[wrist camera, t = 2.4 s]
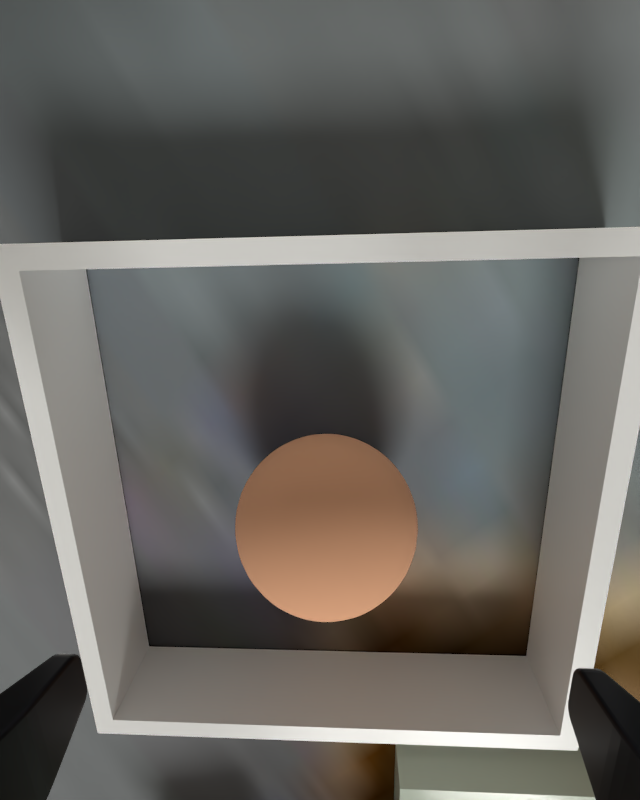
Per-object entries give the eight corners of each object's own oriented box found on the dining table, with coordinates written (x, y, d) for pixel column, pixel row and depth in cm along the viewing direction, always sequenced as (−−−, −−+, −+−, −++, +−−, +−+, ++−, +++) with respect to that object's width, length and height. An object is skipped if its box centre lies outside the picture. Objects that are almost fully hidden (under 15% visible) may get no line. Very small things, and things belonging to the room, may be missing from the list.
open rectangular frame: (606, 229, 13) (677, 225, 10) (541, 669, 18) (578, 750, 15) (61, 243, 14) (-12, 244, 11) (135, 658, 19) (97, 733, 16)
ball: (409, 409, 15) (436, 486, 10) (404, 547, 17) (426, 671, 12) (248, 409, 15) (203, 485, 11) (258, 546, 17) (223, 665, 12)
